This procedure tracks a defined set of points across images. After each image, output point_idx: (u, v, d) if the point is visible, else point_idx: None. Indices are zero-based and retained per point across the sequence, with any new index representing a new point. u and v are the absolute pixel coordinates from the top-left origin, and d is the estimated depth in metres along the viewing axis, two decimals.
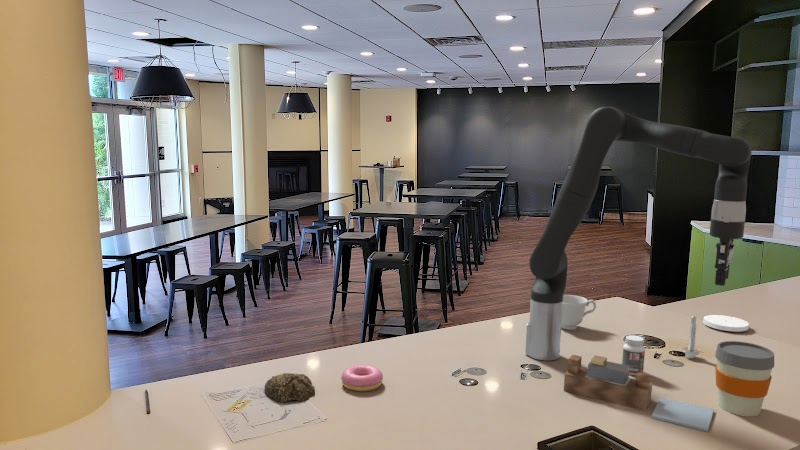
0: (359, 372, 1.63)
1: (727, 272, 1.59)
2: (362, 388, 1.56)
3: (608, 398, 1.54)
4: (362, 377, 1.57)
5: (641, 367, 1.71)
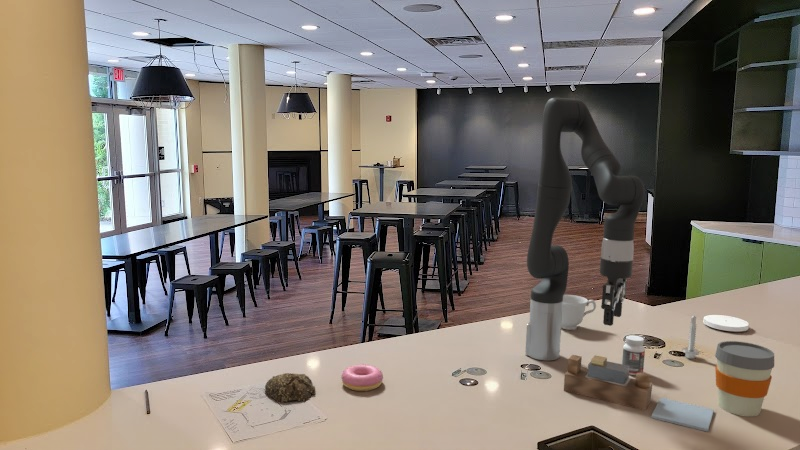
0: (359, 372, 1.63)
1: (620, 310, 1.57)
2: (362, 388, 1.56)
3: (608, 398, 1.54)
4: (362, 377, 1.57)
5: (641, 367, 1.71)
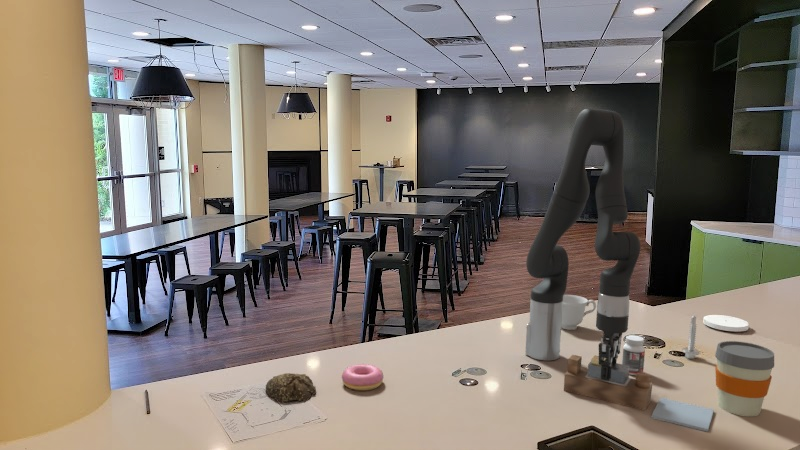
0: (359, 371, 1.63)
1: None
2: (363, 387, 1.57)
3: (608, 398, 1.54)
4: (363, 376, 1.57)
5: (641, 367, 1.71)
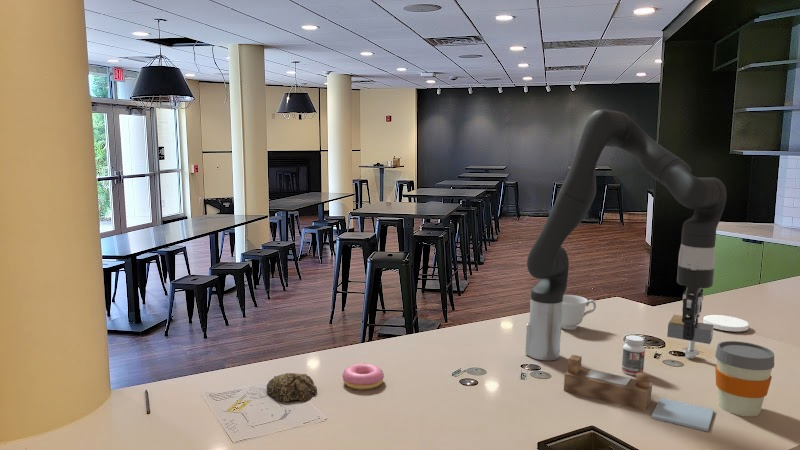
0: (360, 370, 1.64)
1: None
2: (363, 386, 1.57)
3: (608, 398, 1.54)
4: (363, 375, 1.58)
5: (641, 367, 1.71)
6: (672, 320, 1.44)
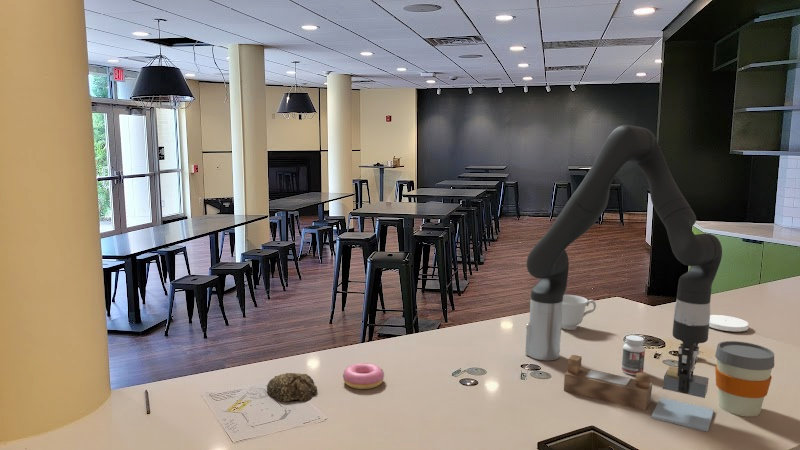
0: (360, 370, 1.64)
1: None
2: (363, 386, 1.58)
3: (608, 398, 1.54)
4: (363, 375, 1.58)
5: (641, 367, 1.71)
6: (668, 373, 1.46)
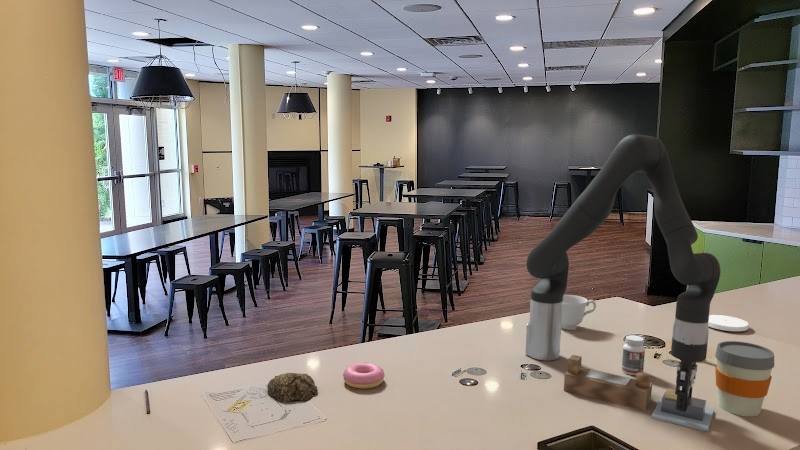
0: (360, 370, 1.65)
1: (690, 393, 1.49)
2: (364, 385, 1.58)
3: (608, 398, 1.54)
4: (364, 375, 1.58)
5: (641, 367, 1.71)
6: (665, 395, 1.47)
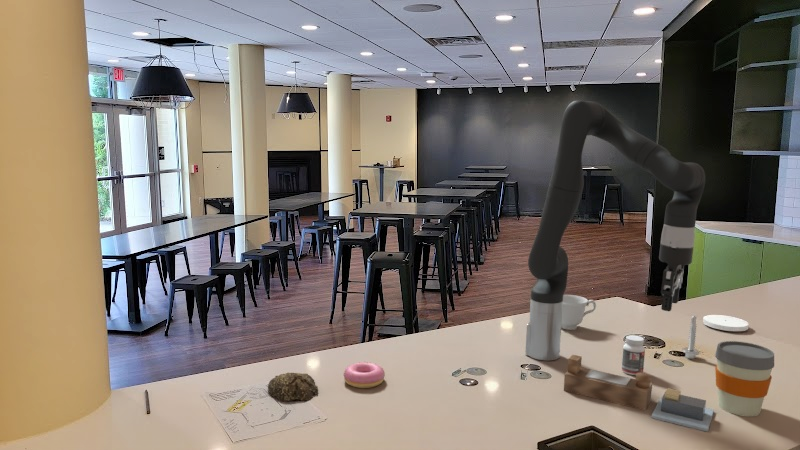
0: (361, 369, 1.65)
1: (676, 297, 1.58)
2: (364, 385, 1.58)
3: (608, 398, 1.54)
4: (364, 374, 1.59)
5: (641, 367, 1.71)
6: (665, 395, 1.47)
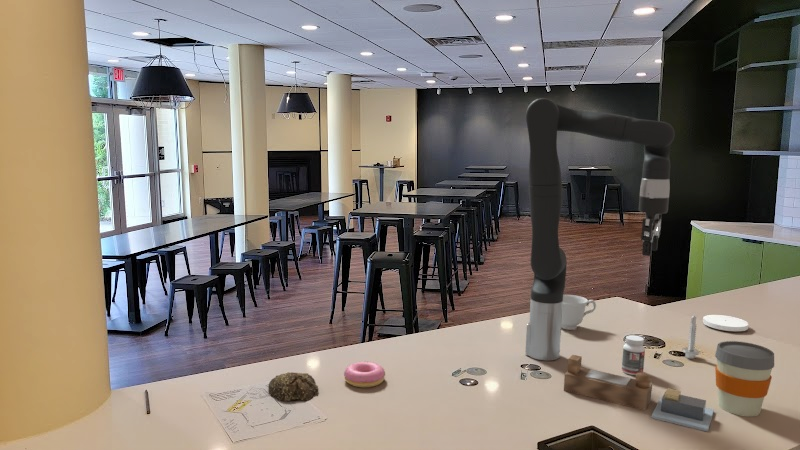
0: (361, 368, 1.65)
1: (656, 245, 1.75)
2: (364, 384, 1.59)
3: (608, 398, 1.54)
4: (364, 373, 1.59)
5: (641, 367, 1.71)
6: (665, 395, 1.47)
